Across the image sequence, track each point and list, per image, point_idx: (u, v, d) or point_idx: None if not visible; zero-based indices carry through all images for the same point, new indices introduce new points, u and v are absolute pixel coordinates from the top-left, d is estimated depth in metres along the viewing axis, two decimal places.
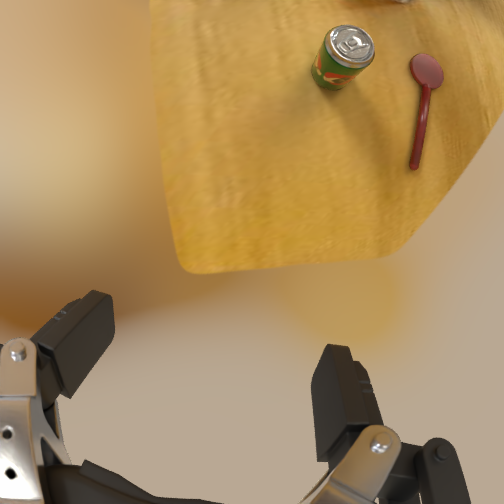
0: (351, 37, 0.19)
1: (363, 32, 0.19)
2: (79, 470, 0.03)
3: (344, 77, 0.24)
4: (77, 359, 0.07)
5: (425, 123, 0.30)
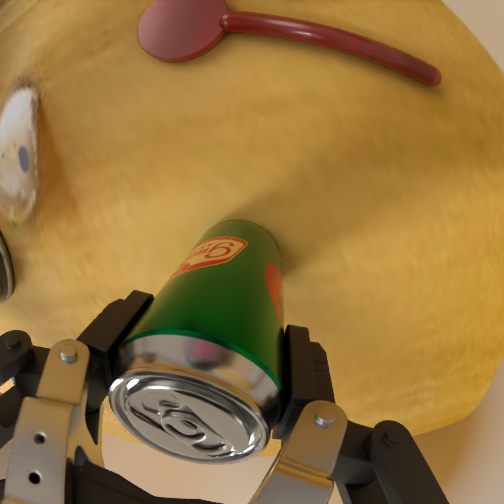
0: (163, 423, 0.06)
1: (120, 386, 0.06)
2: (79, 470, 0.03)
3: None
4: None
5: (334, 30, 0.11)
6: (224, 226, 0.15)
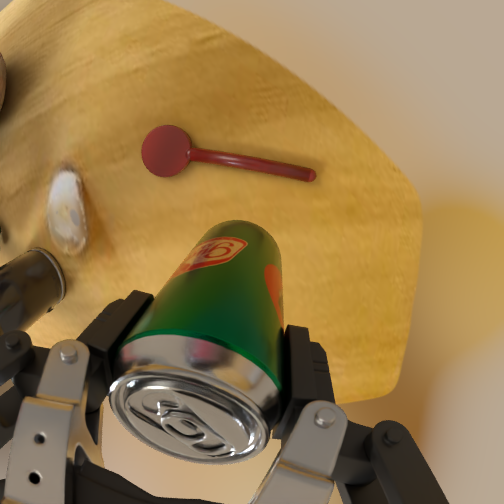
0: (163, 423, 0.06)
1: (119, 386, 0.06)
2: (79, 470, 0.03)
3: None
4: None
5: (246, 160, 0.27)
6: (224, 226, 0.15)
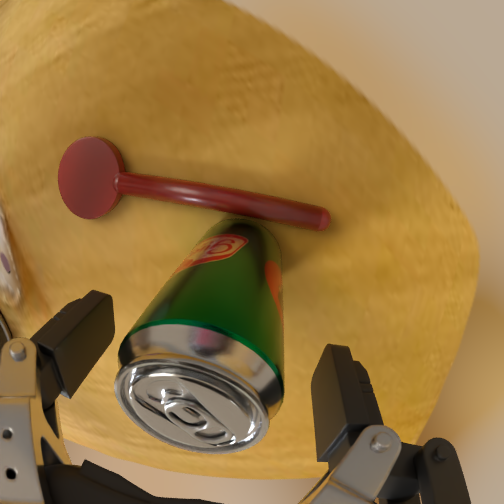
0: (166, 412, 0.07)
1: (125, 374, 0.06)
2: (79, 470, 0.03)
3: (283, 325, 0.10)
4: (77, 359, 0.07)
5: (206, 194, 0.15)
6: (225, 224, 0.15)
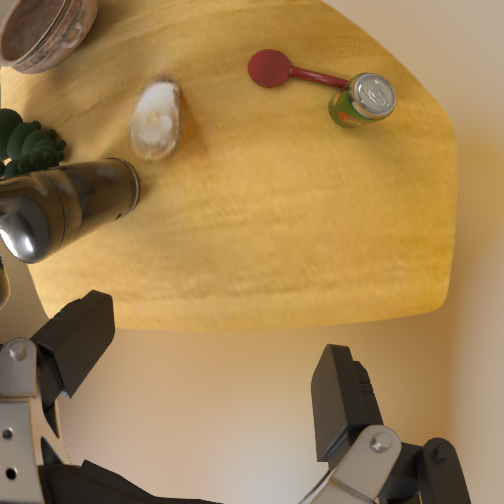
0: (369, 94, 0.22)
1: (359, 80, 0.21)
2: (79, 470, 0.03)
3: None
4: (77, 359, 0.07)
5: (335, 79, 0.30)
6: None
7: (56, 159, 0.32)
